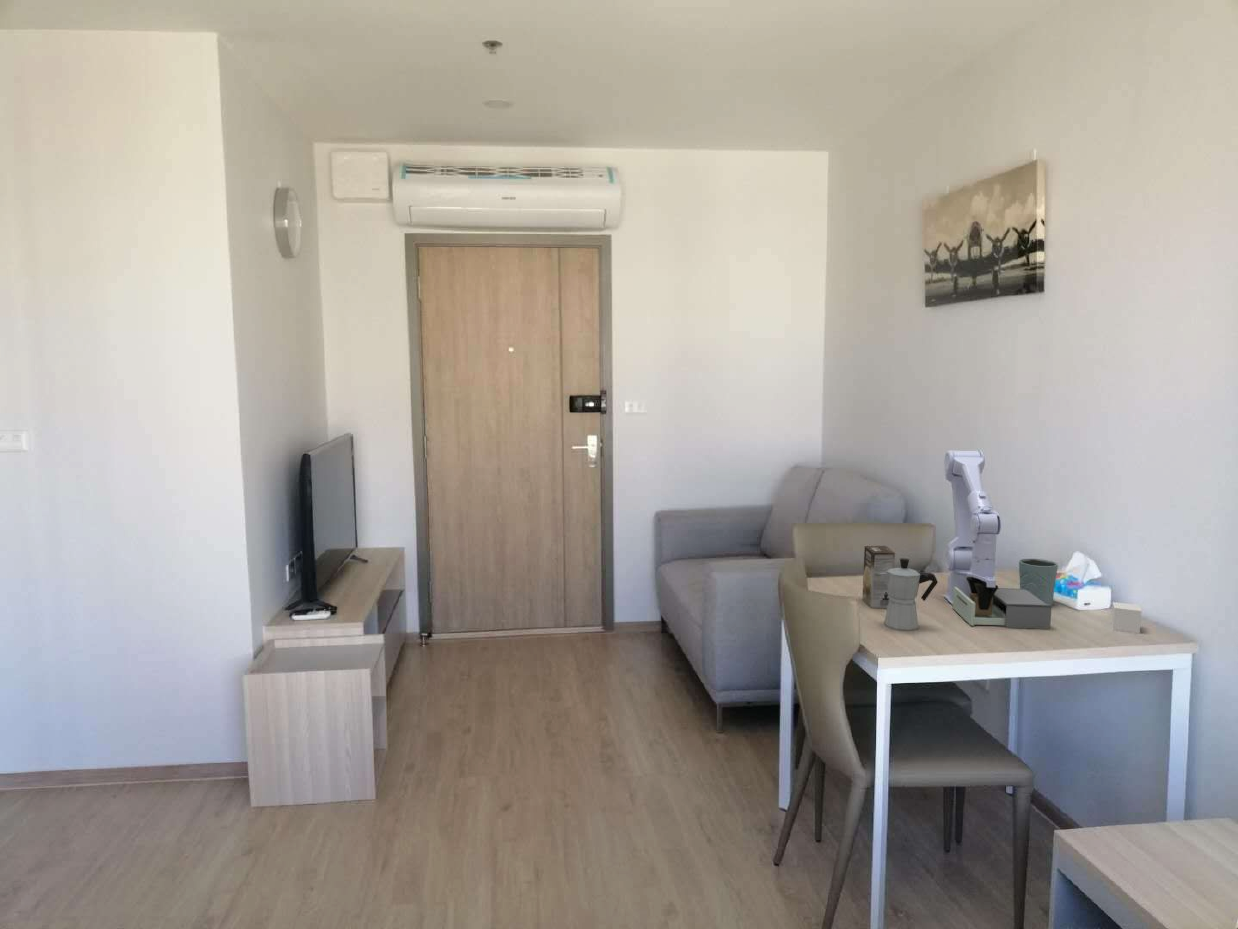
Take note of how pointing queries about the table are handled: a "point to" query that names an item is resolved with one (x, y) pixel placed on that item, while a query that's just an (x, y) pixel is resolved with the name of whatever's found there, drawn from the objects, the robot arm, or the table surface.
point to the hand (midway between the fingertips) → (980, 606)
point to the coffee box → (876, 575)
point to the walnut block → (977, 610)
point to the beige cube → (1126, 617)
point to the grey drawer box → (1023, 608)
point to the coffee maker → (904, 595)
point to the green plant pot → (1038, 577)
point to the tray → (967, 611)
